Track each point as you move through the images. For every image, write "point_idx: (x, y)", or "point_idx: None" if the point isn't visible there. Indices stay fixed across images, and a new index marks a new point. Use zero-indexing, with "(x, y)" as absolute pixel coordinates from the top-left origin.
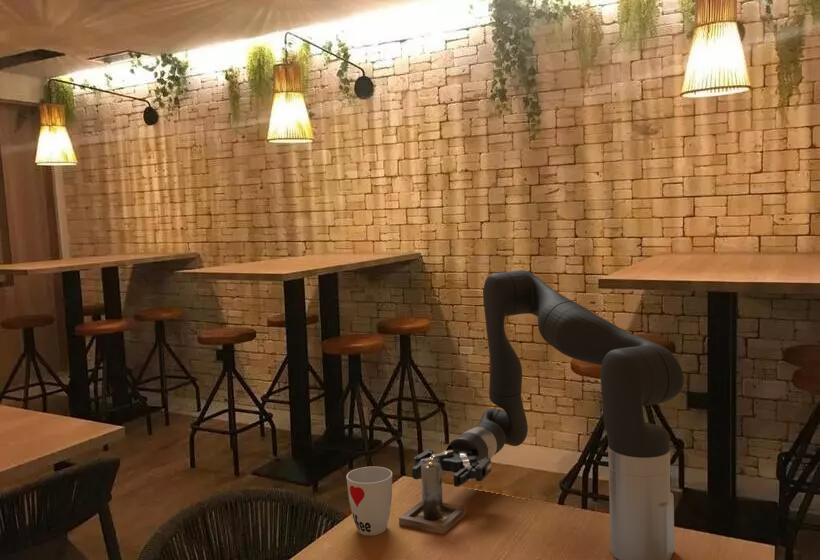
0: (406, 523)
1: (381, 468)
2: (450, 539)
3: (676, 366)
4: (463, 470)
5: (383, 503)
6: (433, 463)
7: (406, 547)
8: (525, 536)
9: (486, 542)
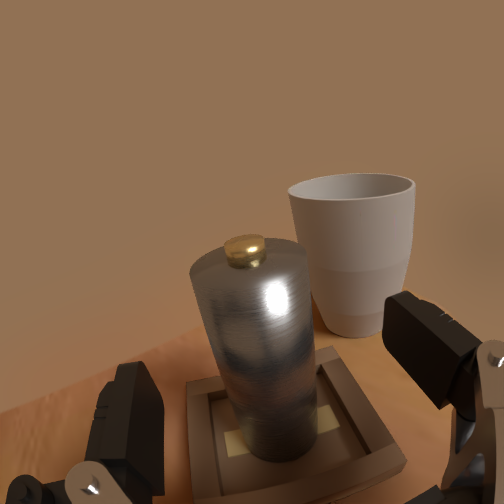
0: None
1: (386, 198)
2: (164, 389)
3: None
4: (104, 426)
5: None
6: (224, 246)
7: None
8: (16, 461)
9: (84, 413)
